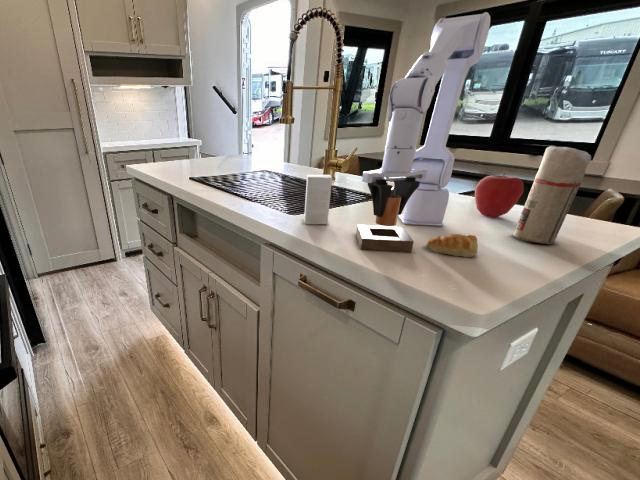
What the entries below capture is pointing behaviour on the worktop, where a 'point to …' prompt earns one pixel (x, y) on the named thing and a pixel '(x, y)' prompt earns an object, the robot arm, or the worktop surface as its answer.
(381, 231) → the holder
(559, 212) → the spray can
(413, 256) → the worktop surface
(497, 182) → the apple
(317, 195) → the cosmetic box
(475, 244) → the pastry
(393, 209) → the bottle
